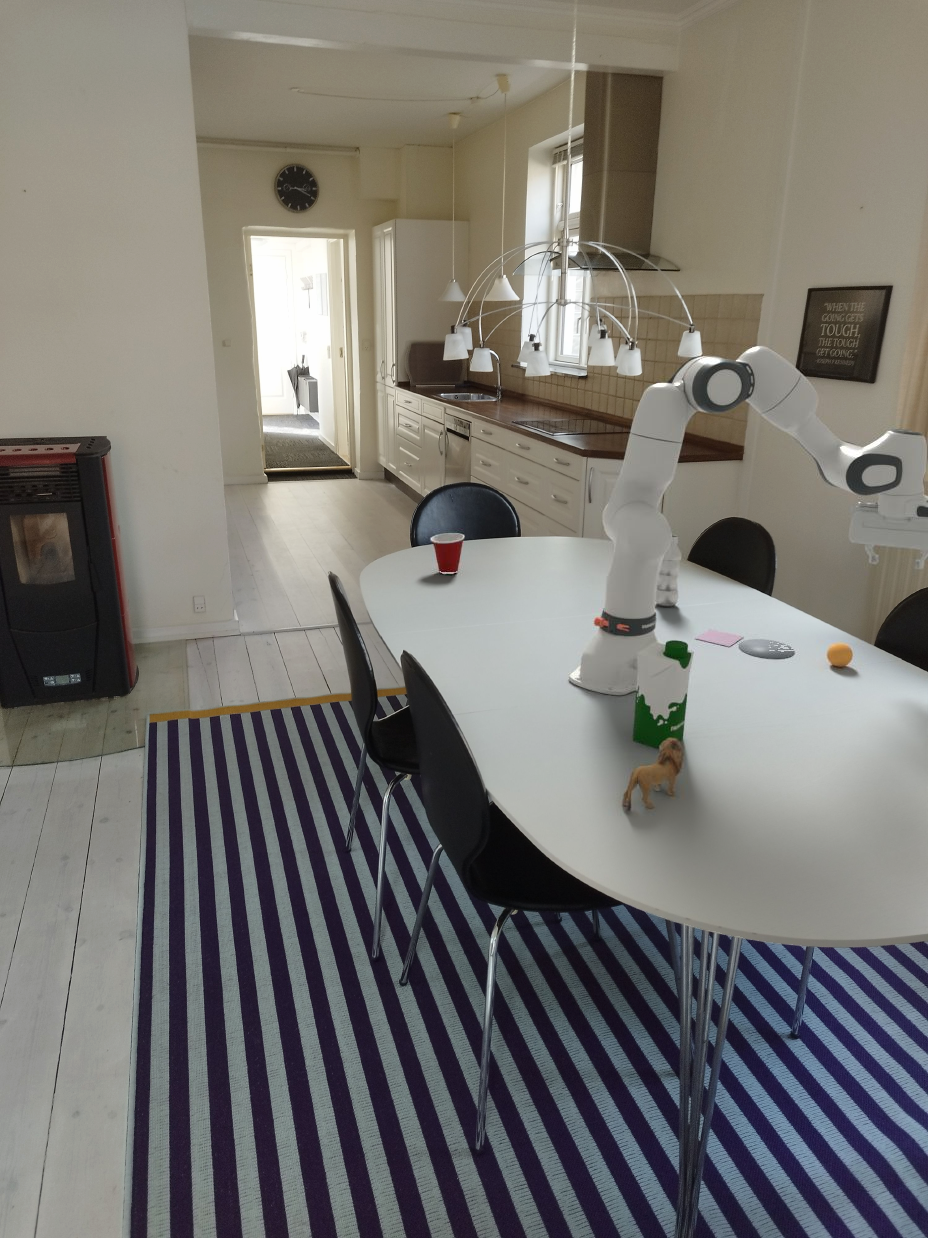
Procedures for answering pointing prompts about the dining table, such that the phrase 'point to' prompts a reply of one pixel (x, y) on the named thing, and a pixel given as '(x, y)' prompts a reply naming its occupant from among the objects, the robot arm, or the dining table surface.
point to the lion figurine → (657, 772)
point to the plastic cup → (448, 551)
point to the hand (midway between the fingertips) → (895, 565)
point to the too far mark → (719, 637)
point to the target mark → (764, 648)
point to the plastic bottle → (669, 576)
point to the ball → (839, 654)
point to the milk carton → (661, 692)
